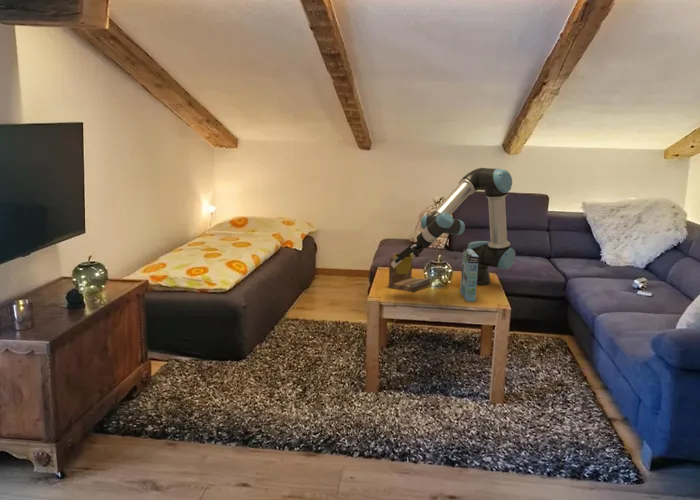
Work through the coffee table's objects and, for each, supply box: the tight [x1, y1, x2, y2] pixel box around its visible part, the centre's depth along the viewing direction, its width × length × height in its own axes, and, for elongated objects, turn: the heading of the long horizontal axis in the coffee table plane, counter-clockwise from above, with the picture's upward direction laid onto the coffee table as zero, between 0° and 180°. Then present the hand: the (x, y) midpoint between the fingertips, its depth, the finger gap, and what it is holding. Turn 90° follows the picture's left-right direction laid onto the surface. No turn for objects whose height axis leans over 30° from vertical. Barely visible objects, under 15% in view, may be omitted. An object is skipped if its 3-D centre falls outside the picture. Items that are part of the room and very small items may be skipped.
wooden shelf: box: [388, 256, 430, 293], centre depth 328 cm, size 15×20×16 cm
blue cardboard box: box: [459, 248, 479, 303], centre depth 309 cm, size 20×5×23 cm, turn 178°
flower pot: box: [393, 253, 414, 274], centre depth 307 cm, size 9×9×9 cm
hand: (399, 263), depth 308 cm, fingers closed on flower pot, 12 cm apart
